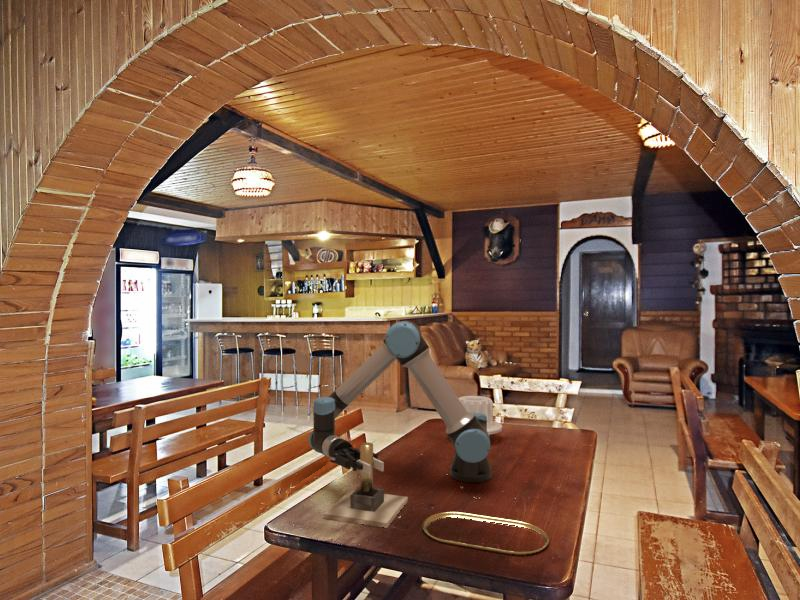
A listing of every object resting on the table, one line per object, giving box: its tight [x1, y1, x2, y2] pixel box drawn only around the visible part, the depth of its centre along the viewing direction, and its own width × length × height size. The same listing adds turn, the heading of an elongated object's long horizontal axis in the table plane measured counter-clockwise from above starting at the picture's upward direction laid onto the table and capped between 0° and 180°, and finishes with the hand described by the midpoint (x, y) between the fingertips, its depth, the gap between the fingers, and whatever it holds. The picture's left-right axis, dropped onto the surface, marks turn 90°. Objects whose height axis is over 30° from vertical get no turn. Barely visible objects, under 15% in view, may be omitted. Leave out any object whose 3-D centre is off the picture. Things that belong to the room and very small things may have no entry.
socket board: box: [323, 486, 409, 529], centre depth 161 cm, size 20×20×6 cm
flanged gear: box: [458, 395, 503, 438], centre depth 238 cm, size 25×25×19 cm
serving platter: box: [422, 511, 550, 556], centre depth 144 cm, size 19×35×2 cm, turn 70°
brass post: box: [359, 441, 374, 492], centre depth 161 cm, size 4×4×14 cm
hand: (376, 468), depth 156 cm, fingers closed on brass post, 4 cm apart
